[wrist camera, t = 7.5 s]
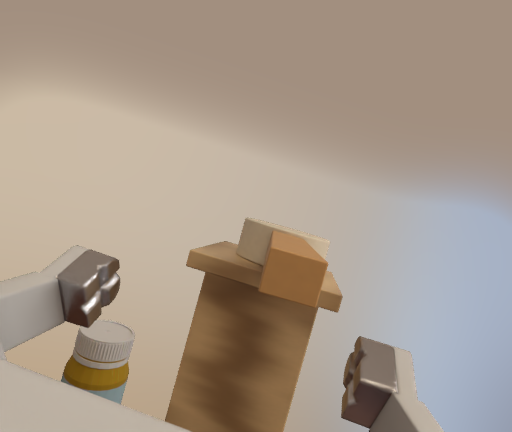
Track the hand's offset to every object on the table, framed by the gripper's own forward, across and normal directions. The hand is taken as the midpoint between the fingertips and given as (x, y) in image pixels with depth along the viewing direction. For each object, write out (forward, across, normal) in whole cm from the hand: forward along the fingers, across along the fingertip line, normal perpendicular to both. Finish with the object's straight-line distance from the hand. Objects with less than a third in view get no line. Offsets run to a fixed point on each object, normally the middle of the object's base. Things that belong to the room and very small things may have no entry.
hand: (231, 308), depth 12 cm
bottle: (+9, +17, +40) cm, 44 cm away
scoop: (+7, -1, +4) cm, 9 cm away
